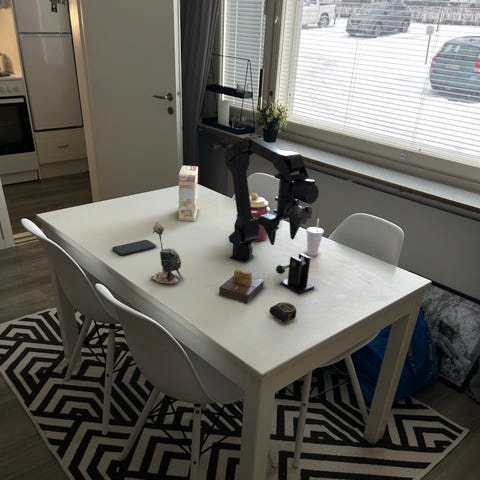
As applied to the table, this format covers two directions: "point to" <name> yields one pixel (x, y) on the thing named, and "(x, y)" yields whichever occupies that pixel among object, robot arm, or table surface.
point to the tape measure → (283, 311)
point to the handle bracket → (298, 275)
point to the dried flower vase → (167, 262)
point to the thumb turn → (242, 277)
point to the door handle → (281, 269)
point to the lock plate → (241, 289)
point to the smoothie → (314, 239)
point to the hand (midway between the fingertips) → (282, 241)
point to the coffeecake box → (188, 193)
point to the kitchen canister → (259, 213)
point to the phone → (133, 247)
